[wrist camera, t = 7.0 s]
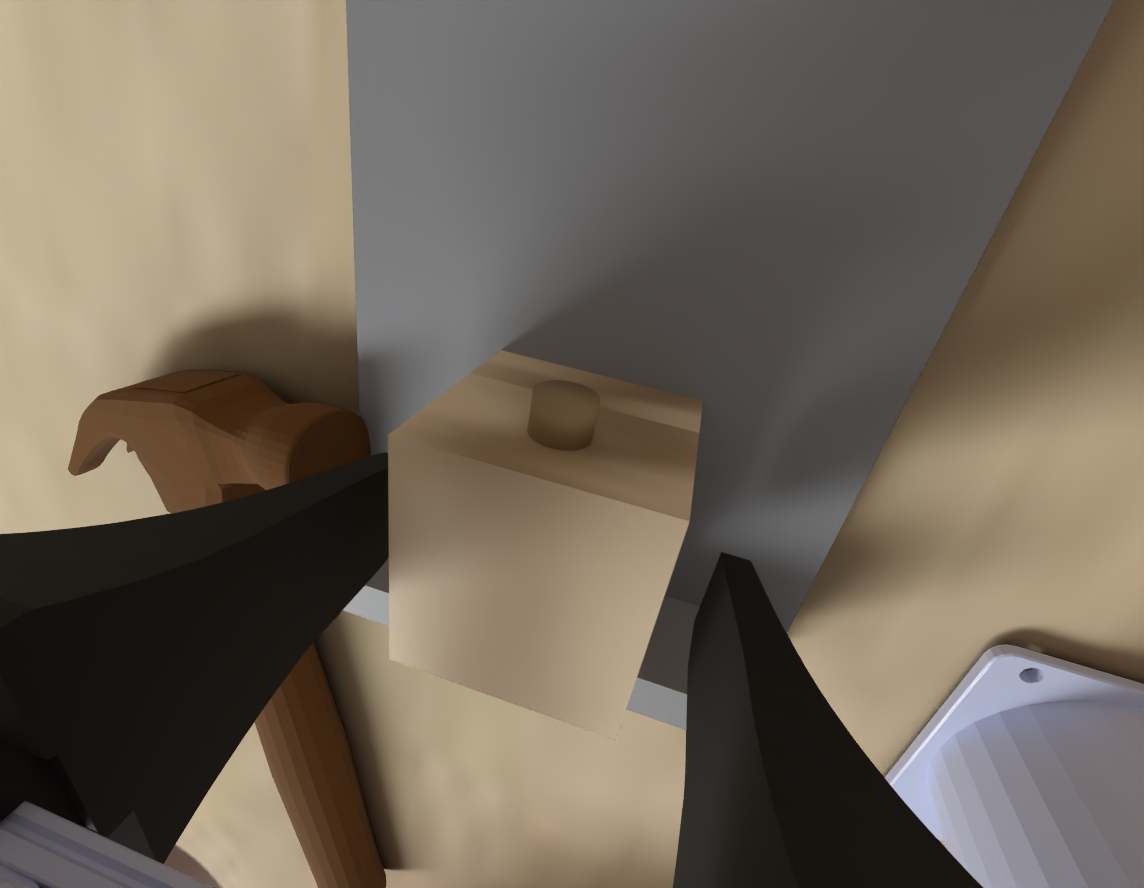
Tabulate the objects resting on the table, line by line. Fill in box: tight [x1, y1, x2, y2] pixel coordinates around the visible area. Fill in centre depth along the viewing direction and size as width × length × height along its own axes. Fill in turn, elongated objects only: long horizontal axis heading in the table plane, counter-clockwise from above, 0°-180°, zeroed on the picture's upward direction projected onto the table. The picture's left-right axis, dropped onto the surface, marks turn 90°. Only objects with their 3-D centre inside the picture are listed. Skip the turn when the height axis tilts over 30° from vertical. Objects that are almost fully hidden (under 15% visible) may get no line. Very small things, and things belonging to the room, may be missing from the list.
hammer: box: [68, 370, 386, 888], centre depth 22 cm, size 12×3×30 cm
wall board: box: [343, 0, 1114, 730], centre depth 11 cm, size 13×18×4 cm
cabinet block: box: [388, 350, 703, 740], centre depth 12 cm, size 5×6×5 cm
